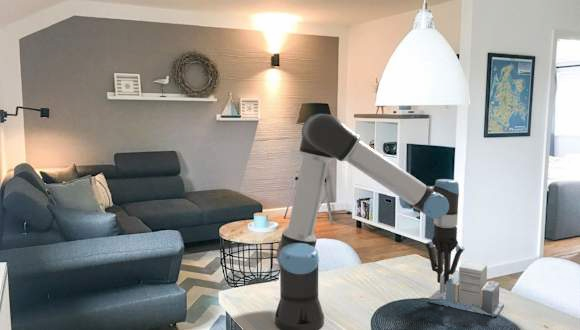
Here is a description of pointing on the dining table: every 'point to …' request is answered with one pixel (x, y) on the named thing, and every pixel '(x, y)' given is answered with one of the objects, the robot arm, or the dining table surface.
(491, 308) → the vise
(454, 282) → the block
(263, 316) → the dining table surface
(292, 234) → the robot arm
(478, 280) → the supplement box
